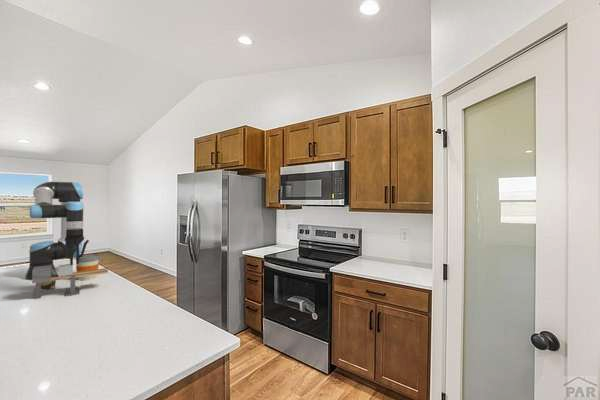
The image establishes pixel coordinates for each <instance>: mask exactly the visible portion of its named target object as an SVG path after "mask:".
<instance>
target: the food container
mask: <svg viewBox="0 0 600 400" xmlns="http://www.w3.org/2000/svg"><path fill="white" fill-rule="evenodd" d="M57 274H58V270H57V269H56V270H52V275H57ZM56 281H57V280H55V281H48V282H41V291H42V290H44V291H45V290H46V291H52V290H54V289H56Z"/></svg>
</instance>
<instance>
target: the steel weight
mask: <svg viewBox="0 0 600 400" xmlns="http://www.w3.org/2000/svg"><path fill="white" fill-rule="evenodd" d="M57 269H58V270H57V272H58V277H62V276H70V275H73V272H74V271H73V265H70V263H67V264H58V267H57Z"/></svg>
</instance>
